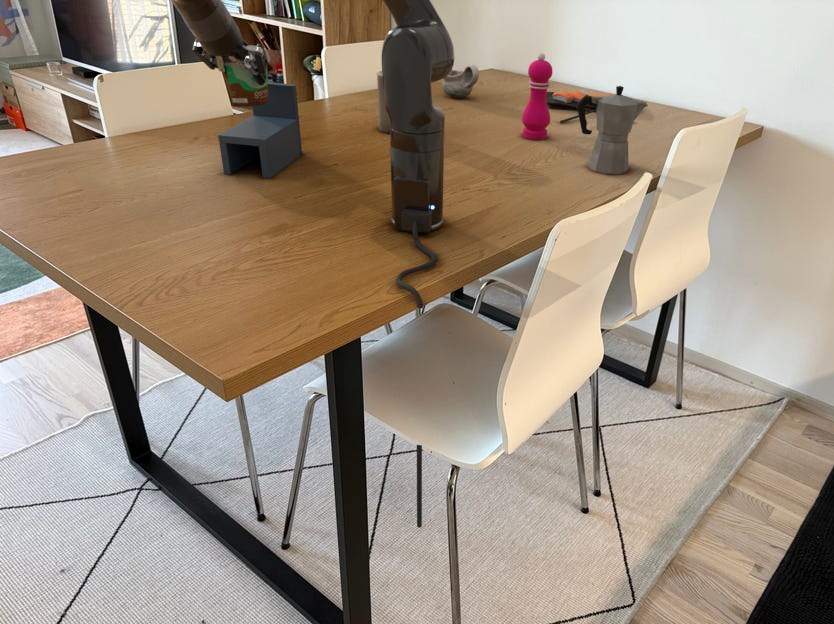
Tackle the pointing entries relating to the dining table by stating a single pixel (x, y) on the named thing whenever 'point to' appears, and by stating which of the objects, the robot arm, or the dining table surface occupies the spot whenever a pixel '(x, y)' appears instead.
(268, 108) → the blue toy chair
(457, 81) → the grey curved hollow piece
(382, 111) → the pillar candle
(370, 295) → the dining table surface
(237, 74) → the food container
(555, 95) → the sushi plate
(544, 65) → the pepper mill
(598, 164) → the coffeepot
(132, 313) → the dining table surface
